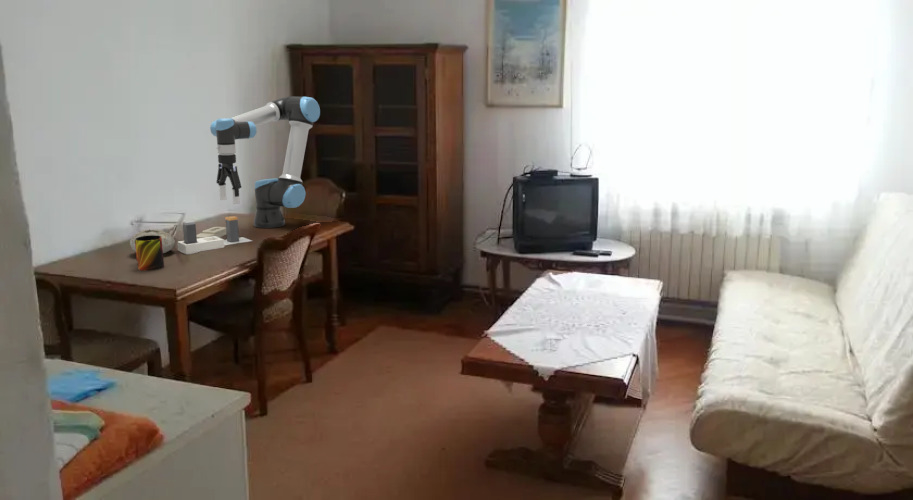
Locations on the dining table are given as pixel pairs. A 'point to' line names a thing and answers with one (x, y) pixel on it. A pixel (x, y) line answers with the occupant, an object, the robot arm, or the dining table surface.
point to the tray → (237, 242)
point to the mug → (149, 252)
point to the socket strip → (197, 240)
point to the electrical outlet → (212, 232)
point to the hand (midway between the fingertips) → (229, 201)
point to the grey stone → (166, 237)
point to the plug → (232, 229)
